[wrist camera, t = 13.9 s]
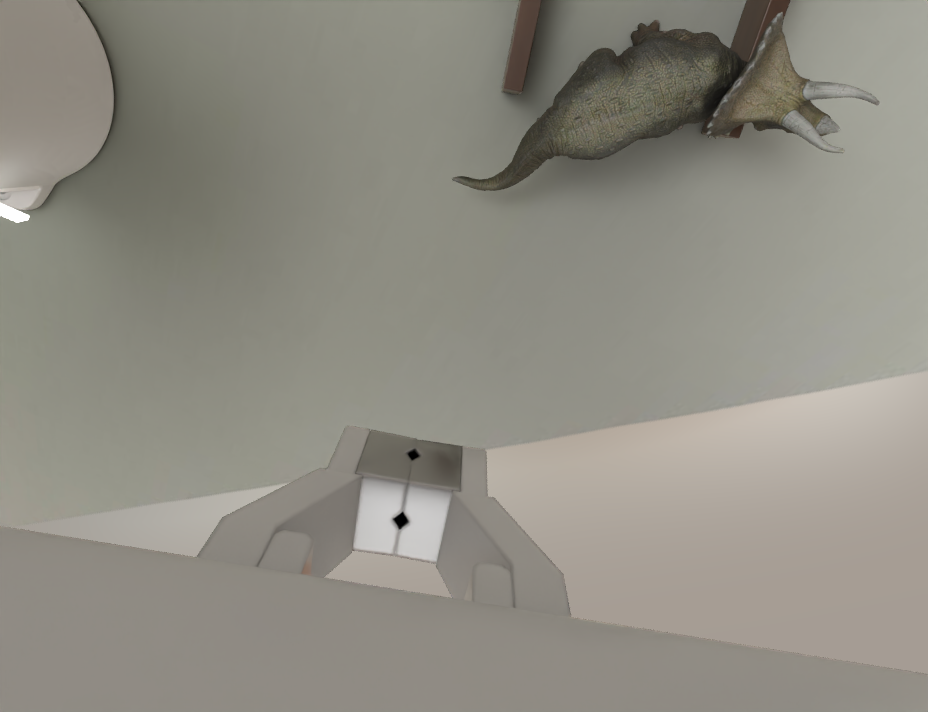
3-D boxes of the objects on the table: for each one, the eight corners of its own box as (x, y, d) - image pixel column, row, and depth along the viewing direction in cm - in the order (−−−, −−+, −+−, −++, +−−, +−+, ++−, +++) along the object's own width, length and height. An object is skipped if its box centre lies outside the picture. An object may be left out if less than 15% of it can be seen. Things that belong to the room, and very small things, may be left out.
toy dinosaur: (456, 190, 39) (449, 216, 29) (436, 61, 36) (419, 37, 25) (767, 140, 37) (877, 147, 27) (776, -2, 34) (906, -55, 24)
